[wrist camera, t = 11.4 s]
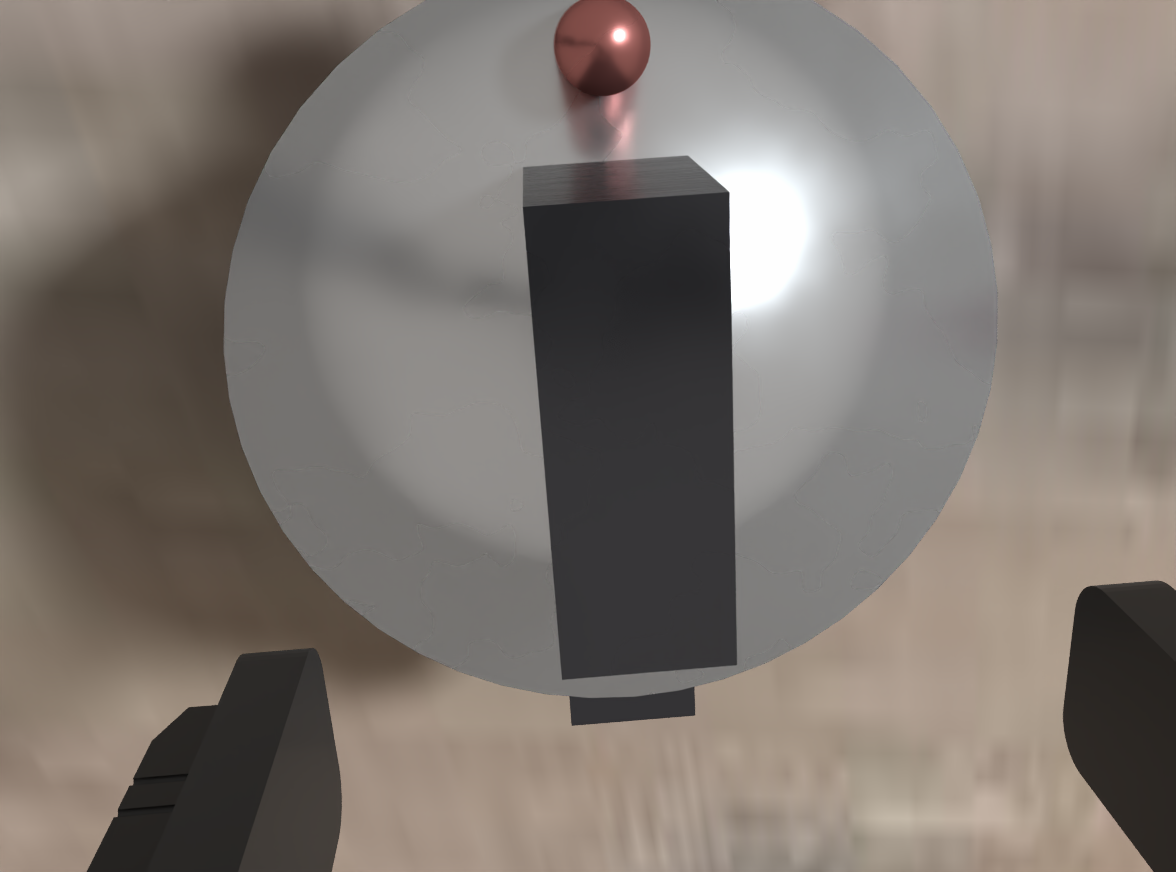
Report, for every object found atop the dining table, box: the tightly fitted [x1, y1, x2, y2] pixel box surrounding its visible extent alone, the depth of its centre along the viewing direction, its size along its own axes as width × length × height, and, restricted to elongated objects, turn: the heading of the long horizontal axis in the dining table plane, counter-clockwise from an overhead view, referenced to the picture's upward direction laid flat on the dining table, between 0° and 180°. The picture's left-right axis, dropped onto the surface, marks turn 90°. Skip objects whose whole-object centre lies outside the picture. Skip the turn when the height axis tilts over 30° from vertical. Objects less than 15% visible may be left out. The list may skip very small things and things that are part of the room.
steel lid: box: [224, 0, 998, 698], centre depth 20 cm, size 15×15×6 cm
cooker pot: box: [569, 687, 695, 726], centre depth 27 cm, size 14×19×9 cm
